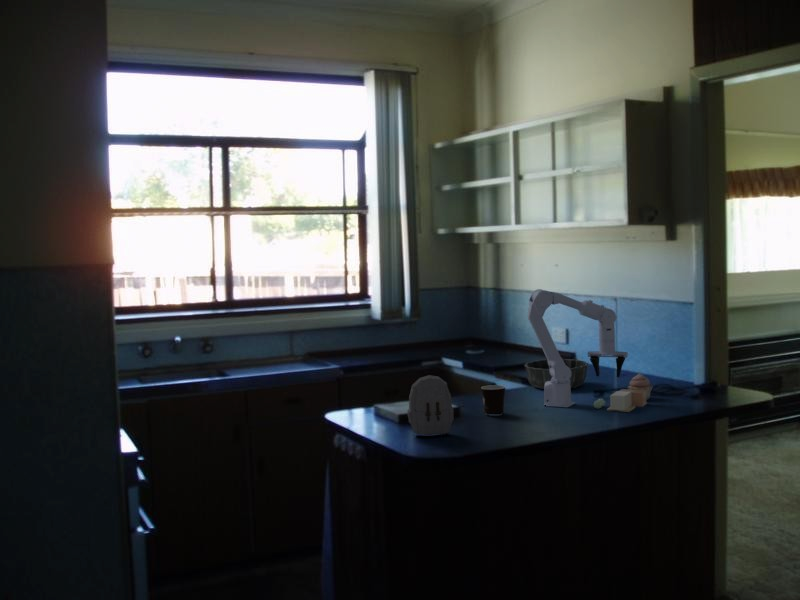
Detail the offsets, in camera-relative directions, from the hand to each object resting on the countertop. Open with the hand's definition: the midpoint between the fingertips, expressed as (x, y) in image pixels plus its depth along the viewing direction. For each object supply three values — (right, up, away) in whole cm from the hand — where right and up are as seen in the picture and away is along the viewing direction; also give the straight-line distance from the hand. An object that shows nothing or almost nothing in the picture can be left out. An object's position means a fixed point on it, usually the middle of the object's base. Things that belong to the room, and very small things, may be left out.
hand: (608, 376), depth 299 cm
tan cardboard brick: (+8, -10, -5) cm, 13 cm away
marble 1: (-6, -11, -9) cm, 15 cm away
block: (+2, -10, -12) cm, 16 cm away
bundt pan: (-12, -8, +38) cm, 41 cm away
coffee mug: (-43, -13, -10) cm, 46 cm away
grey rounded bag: (-67, -16, -40) cm, 80 cm away
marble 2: (-4, -11, -6) cm, 13 cm away
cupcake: (+13, -9, +4) cm, 17 cm away
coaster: (+2, -11, -12) cm, 16 cm away
